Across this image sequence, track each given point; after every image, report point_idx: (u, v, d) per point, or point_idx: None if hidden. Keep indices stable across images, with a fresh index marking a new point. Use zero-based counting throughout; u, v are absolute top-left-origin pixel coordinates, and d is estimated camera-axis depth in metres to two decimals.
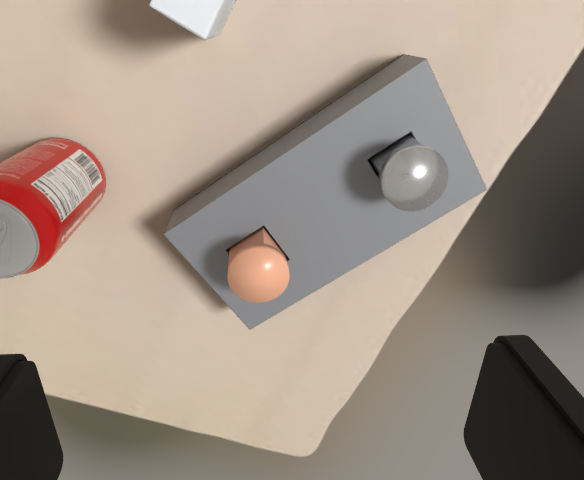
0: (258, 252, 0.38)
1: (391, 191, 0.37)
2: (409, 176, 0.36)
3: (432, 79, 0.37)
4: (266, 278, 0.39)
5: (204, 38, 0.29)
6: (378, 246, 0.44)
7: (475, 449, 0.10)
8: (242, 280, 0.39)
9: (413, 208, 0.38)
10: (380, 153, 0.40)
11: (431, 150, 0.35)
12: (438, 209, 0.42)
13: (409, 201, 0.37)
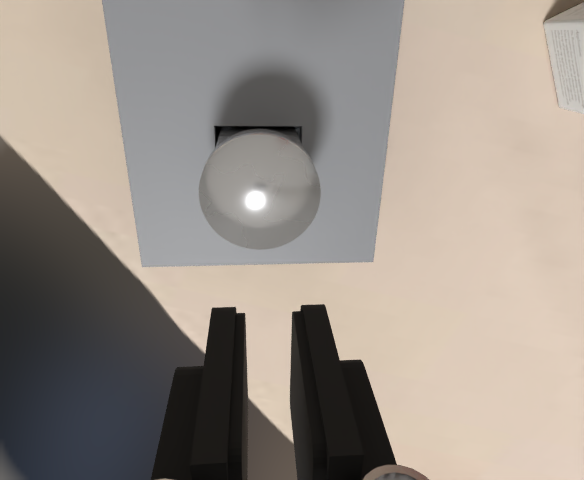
0: None
1: (266, 149, 0.19)
2: (273, 190, 0.20)
3: (345, 258, 0.27)
4: None
5: None
6: (126, 54, 0.21)
7: (292, 412, 0.10)
8: None
9: (210, 169, 0.19)
10: None
11: (293, 238, 0.21)
12: (147, 189, 0.24)
13: (227, 169, 0.19)
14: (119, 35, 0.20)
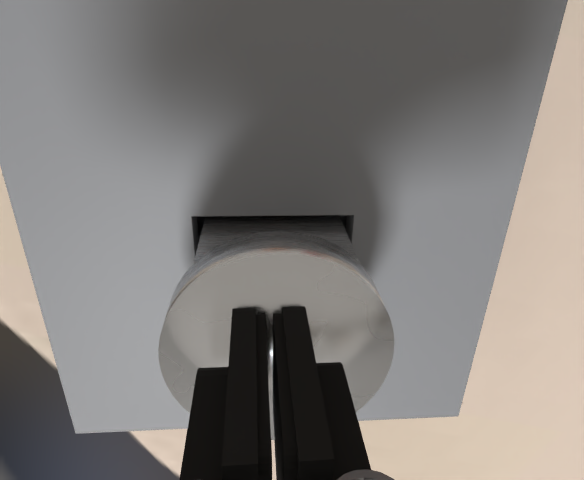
0: None
1: (293, 280, 0.09)
2: None
3: (413, 412, 0.16)
4: None
5: None
6: (11, 88, 0.10)
7: (274, 414, 0.10)
8: None
9: (179, 317, 0.10)
10: None
11: None
12: (74, 321, 0.13)
13: (214, 316, 0.10)
14: None
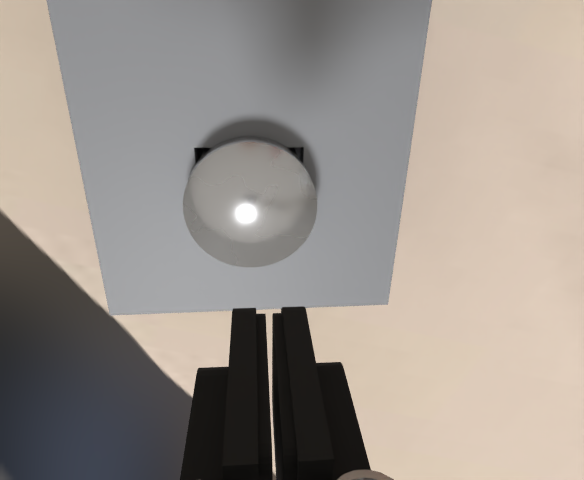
0: None
1: (257, 159, 0.17)
2: (265, 204, 0.18)
3: (355, 301, 0.22)
4: None
5: None
6: (79, 59, 0.16)
7: (273, 414, 0.10)
8: None
9: (195, 181, 0.17)
10: None
11: (287, 254, 0.19)
12: (112, 225, 0.19)
13: (214, 180, 0.18)
14: (69, 34, 0.16)
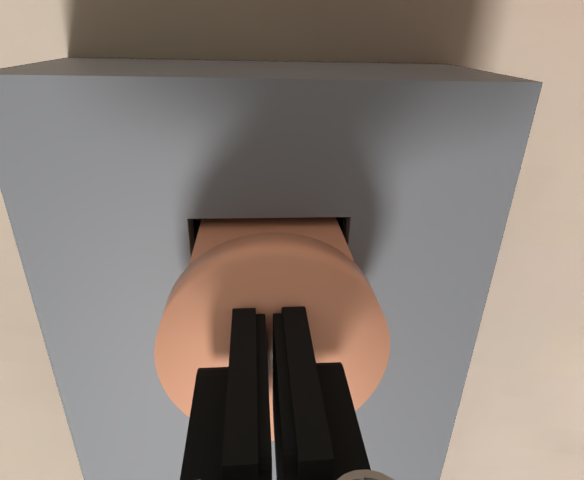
0: (354, 399, 0.11)
1: None
2: None
3: None
4: None
5: None
6: None
7: (273, 414, 0.10)
8: None
9: None
10: None
11: None
12: None
13: None
14: None
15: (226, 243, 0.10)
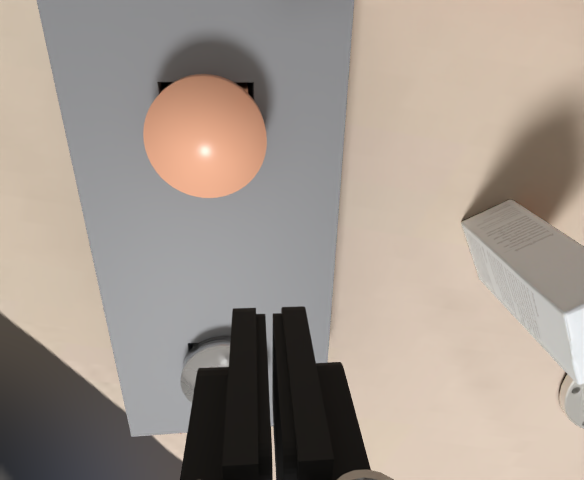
0: (251, 170, 0.21)
1: (227, 356, 0.27)
2: None
3: None
4: (194, 151, 0.20)
5: (565, 314, 0.23)
6: (115, 303, 0.26)
7: (273, 414, 0.10)
8: (216, 110, 0.20)
9: (188, 369, 0.27)
10: None
11: None
12: (134, 386, 0.29)
13: None
14: (109, 292, 0.26)
15: (179, 79, 0.20)
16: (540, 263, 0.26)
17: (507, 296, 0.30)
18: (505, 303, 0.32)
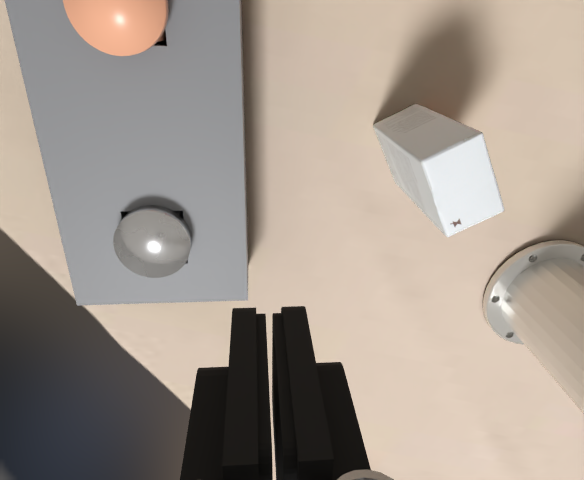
0: (154, 31, 0.25)
1: (152, 219, 0.32)
2: (160, 242, 0.33)
3: (226, 298, 0.37)
4: (105, 11, 0.25)
5: (422, 161, 0.27)
6: (55, 168, 0.31)
7: (273, 414, 0.10)
8: None
9: (119, 231, 0.32)
10: None
11: (176, 270, 0.34)
12: (76, 253, 0.34)
13: (129, 230, 0.32)
14: (50, 156, 0.30)
15: None
16: (418, 136, 0.30)
17: (405, 182, 0.34)
18: (407, 192, 0.36)
